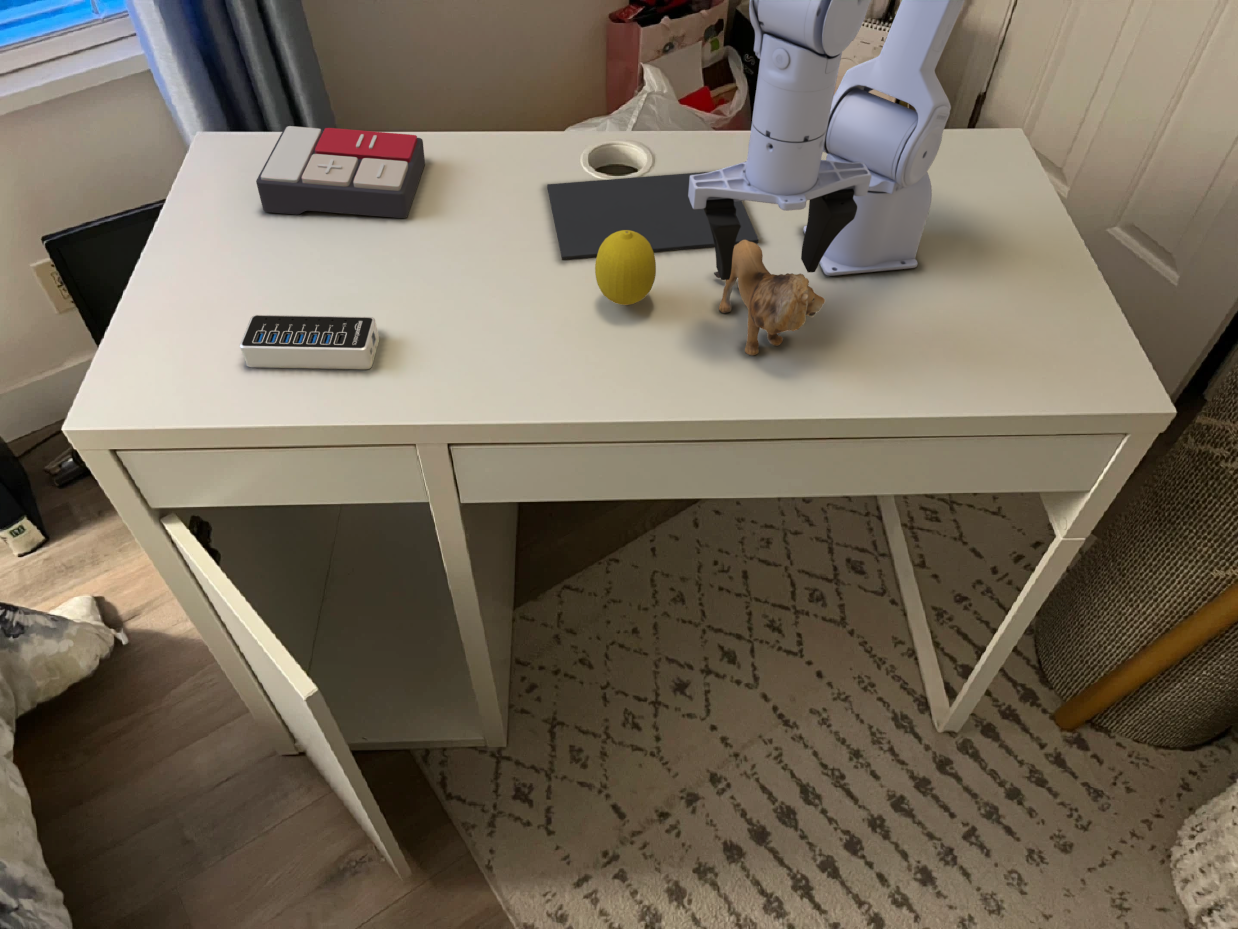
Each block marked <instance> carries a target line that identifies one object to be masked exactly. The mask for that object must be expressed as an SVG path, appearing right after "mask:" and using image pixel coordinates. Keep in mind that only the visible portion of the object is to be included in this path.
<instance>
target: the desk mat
mask: <svg viewBox="0 0 1238 929" xmlns="http://www.w3.org/2000/svg"><path fill="white" fill-rule="evenodd" d="M708 172H709V171H702V172H700V171H699V172H691V173H689V172H687V173H675V174H664V175H663V174H662V175H650V176H649V175H648V176H636V177H625V178H612V179H611V178H610V179H599V180H584V181H573V182H560V183H558V182H557V183H547V184H546V188H547V194H548V197H549V202H550V207H551V212H552V218H553V222H554V226H555V231H556V236H557V241H558V246H559V250H560V251H559V252H560V256H561V260H562V261H566V260H567V261H568V260H577V259H579V260H580V259H588V258H597V254H598V251H599V248H600V246H601V244H602V243H603V242H604V240H605V239H606V238H607V237H608V236H610V235H611V234H613V233H615V232H618V231H622V230H630V231H634V232H637V233H639V234H640V235H642V236H643V237H645V238H646V239H647V241H648V242H649V243H650V245H651V247H652V250H653V252H654V253H657V252H658V253H659V252H669V251H680V250H691V249H703V248H715V246H714V240H713V236H712V232H711V228H710V225H709V222H708V219H707V216H706V214H705V211H704V208H703V209H693V207H692V205H691V203H690V199H689V197H688V192H689V180H690V175H697V174H704V173H708ZM734 206H735V208H736V216H737V218H738V221H739V223H740V225H741V227H740V229H739V232H738V235H737V238H736V242H735V245H736V244H738V243H739V242H740V241H742V240H747V241H749V242H754V243H756V244H758V243H759V240H760V238H759V237H758V235H757V233H756V230H755V228H754V226H753V224H752V221H751V219H750V217H749V214H748V212H747V209H746V208H745V206H744V203H743V201H734ZM735 245H734V246H735Z"/></svg>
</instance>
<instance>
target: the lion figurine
mask: <svg viewBox="0 0 1238 929" xmlns="http://www.w3.org/2000/svg"><path fill="white" fill-rule="evenodd" d="M713 275H714V276H715V278H717V279H721V278H720V275H719V273H718V271H714V272H713ZM736 283H737V288H738V292H739V295H740V297H741V300H742V302H743V304H744V305H745V307H746V308H747V338H746V344H745V348H744V352H745V354H747V356H748V355H749V356H755V355H758V354H759V352H760V351H759V344H760V343H759V338H758V337H759V332H760V330H761V329H762V330H765V331H766V332H765V333H767V334H766V339H767V341H768V342H769V344H771V345H772V346H780V345H781V344H782V343H783V340H784V338H783V336H782V335H778V334H781V333H784V332H789V331H790V332H791V331H792V332H794V331H797V330H799V329H800V328H801V327H803V326H804V325H805V323H806V321H807V320H806V318H807V317H809V318H814V317H815V316H816V314H817V313H818V312H820V311H821V310H822V308H823V305H824V304H825V303H826V299H825V298H824V297H823V296H821V295H818V294H817V293H816V292H815V291H814V289H813V287H811V286H809V285H810V280H809V278H807V277H805V275H804V274H803V273H798V274H797V273H796V274H795V273H790V272H789V273H788V272H787V273H785V274H783V273H780V274H775V273H770V271H769V270H768V269H767V268H766V266H765V264H764V262H763V250H762V248H761V246H760V245H758V243H754V242H749V241H747V240H742V241H740V242H739V243H738V244H736V245H734V250H733V258H732V270H731V275H730V279H729V280H725V285H724V287H723V291H722V298H721V301H720V303H719V306H718V311H719V312H720V313H722V314H726V313H730V312H731V311H732V304H731V294H732V292H733V287H734V285H736ZM806 316H807V317H806Z"/></svg>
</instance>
